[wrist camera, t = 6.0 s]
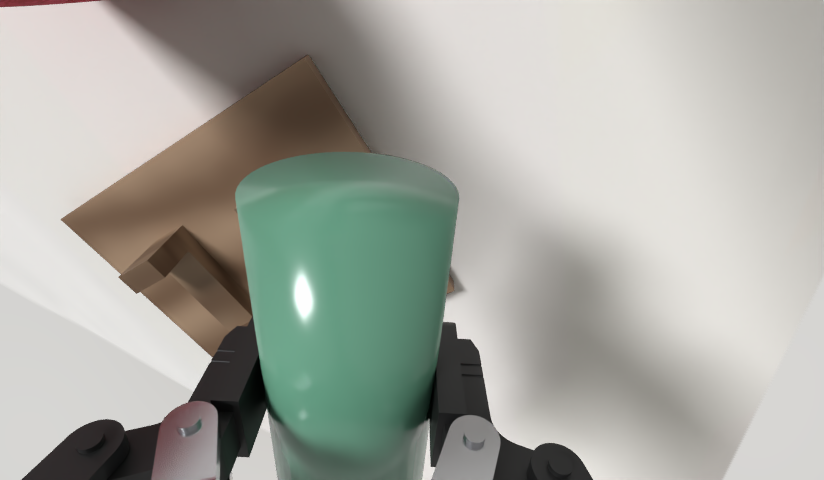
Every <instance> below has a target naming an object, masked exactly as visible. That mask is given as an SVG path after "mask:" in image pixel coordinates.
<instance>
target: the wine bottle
mask: <svg viewBox="0 0 824 480" xmlns="http://www.w3.org/2000/svg"><path fill="white" fill-rule="evenodd" d="M89 1H100V0H0V7H14V6H34V5H49V4H64V3H77V2H89Z"/></svg>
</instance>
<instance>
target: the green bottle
mask: <svg viewBox="0 0 824 480" xmlns="http://www.w3.org/2000/svg"><path fill="white" fill-rule="evenodd" d="M235 200H236V207H237V213H238V220H239V227H240V233H241V240H242V246H243V253H244V260H245V266H246V273H247V279H248V286H249V293H250V299H251V306H252V312H253V319H254V326H255V332H256V339H257V345H258V352H259V359H260V365H261V372H262V378H263V385H264V392H265V398H266V405H267V411H268V418H269V425H270V431H271V438H272V444H273V451H274V457H275V464H276V470H277V477H278V480H422V476H423V469H424V461H425V454H426V446H427V438H428V431H429V418H430V410H431V403H432V395H433V388H434V380H435V372H436V366H437V361H438V355H439V347H440V340H441V332H442V325H443V317H444V310H445V302H446V294H447V287H448V279H449V272H450V264H451V256H452V249H453V241H454V234H455V226H456V219H457V211H458V203H459V193H458V191H457V188H456V187H455V185H454V184H453V183H452V182H451V181H450V180H449V179H448V178H447V177H446V176H444V175H443V174H441V173H440V172H438V171H436V170H434V169H433V168H430V167H428V166H426V165H423V164H420V163H417V162H415V161H411V160H407V159H404V158H399V157H395V156H389V155H383V154H375V153H364V152H324V153H314V154H306V155H300V156H295V157H290V158H286V159H282V160H279V161H276V162H272V163H270V164H267V165H265V166H262V167H260V168H258V169H256V170H255V171H253V172H251V173H250V174H249V175H247V176H246V177H245V178H244V179H243V180H242V181H241V182H240V183H239V185H238V186H237V189H236V192H235Z"/></svg>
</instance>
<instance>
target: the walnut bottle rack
mask: <svg viewBox="0 0 824 480" xmlns="http://www.w3.org/2000/svg"><path fill="white" fill-rule="evenodd" d="M324 152H364V153H371V152H370V150H369V148H368V147H367V145H366V144H365V142H364V141H363V139H362V137H361V136H360V134H359V133H358V131H357V130H356V128H355V127H354V125H353V123H352V122H351V120H350V119H349V117H348V116H347V114H346V113H345V111H344V109H343V108H342V106H341V105H340V103H339V102H338V100H337V98H336V97H335V95H334V94H333V92H332V91H331V89H330V88H329V86H328V84H327V83H326V81H325V80H324V78H323V77H322V75H321V73H320V72H319V70H318V69H317V67H316V66H315V64H314V63H313V61H312V59H311V58H310V56H309V55H307V56H305V57H304V58H302V59H301V60H299V61H298V62H296V63H295V64H293V65H292V66H290V67H289V68H287V69H286V70H284V71H283V72H281V73H280V74H278V75H277V76H275V77H274V78H272V79H271V80H269V81H268V82H266V83H265V84H263V85H262V86H260V87H259V88H257V89H256V90H254V91H253V92H251V93H250V94H248V95H247V96H245V97H244V98H242V99H241V100H239V101H238V102H236V103H235V104H233V105H232V106H230V107H229V108H227V109H226V110H224V111H223V112H221V113H220V114H218V115H217V116H215V117H214V118H212V119H211V120H209V121H208V122H206V123H205V124H203V125H202V126H200V127H199V128H197V129H196V130H194V131H193V132H191V133H190V134H188V135H187V136H185V137H184V138H182V139H181V140H179V141H178V142H176V143H175V144H173V145H172V146H170V147H169V148H167V149H166V150H164V151H163V152H161V153H160V154H158V155H157V156H155V157H154V158H152V159H151V160H149V161H148V162H146V163H145V164H143V165H142V166H140V167H139V168H137V169H136V170H134V171H133V172H131V173H130V174H128V175H127V176H125V177H123V178H122V179H120V180H119V181H117V182H116V183H114V184H113V185H111V186H110V187H108V188H107V189H105V190H104V191H102V192H101V193H99V194H98V195H96V196H95V197H93V198H92V199H90V200H89V201H87V202H86V203H84V204H83V205H81V206H80V207H78V208H77V209H75V210H74V211H72V212H71V213H69V214H68V215H66V216H65V217H63V218H62V219H61V220H62V221H63V222H64V223H65V224H66V225H67V226H68V227H70V228H71V229H72V230H73V231H74V232H75V233H76V234H77V235H78V236H79V237H81V238H82V239H83V240H84V241H85V242H86V243H87V244H88V245H89V246H90V247H92V248H93V249H94V250H95V251H96V252H97V253H98V254H99V255H100V256H101V257H103V258H104V259H105V260H106V261H107V262H108V263H109V264H110V265H111V266H112V267H114V268H115V269H116V270H117V271H118V272H119V273H120V274H121V275H120V276H119V278H120V279H121V280H122V281H123V282H124V283H125V284H126V285H128V286H129V287H130V288H131V289H132V290H133V291H134V292H135V293H136V294H137V293H139V292H141V293H142V294H143V295H144V296H146V297H147V298H148V299H149V300H150V301H151V302H152V303H153V304H154V305H155V306H157V307H158V308H159V309H160V310H161V311H162V312H163V313H164V314H165V315H166V316H168V317H169V318H170V319H171V320H172V321H173V322H174V323H175V324H176V325H177V326H179V327H180V328H181V329H182V330H183V331H184V332H185V333H186V334H187V335H188V336H190V337H191V338H192V339H193V340H194V341H195V342H196V343H197V344H198V345H199V346H201V347H202V348H203V349H204V350H205V351H206V352H207V353H208V354H209V355H210V356H212V357H213V356H214V355H215V353H216V352H217V349H218V347H219V346H220V344H221V342H222V340H223V338H224V337H225V336H226V335H227V334H228V333H229V332H231V331H232V330H233V329H234V328H235V327H236V326H248V324H249V322H250V320H251V318H252V316H253V312H252V306H251V299H250V293H249V286H248V279H247V273H246V266H245V260H244V253H243V246H242V240H241V233H240V227H239V220H238V213H237V207H236V200H235V192H236V189H237V186H238V185H239V183H240V182H241V181H242V180H243V179H244V178H245V177H246V176H247V175H249V174H250V173H251V172H253V171H255V170H256V169H258V168H260V167H262V166H265V165H267V164H270V163H272V162H276V161H279V160H282V159H286V158H290V157H295V156H300V155H306V154H314V153H324ZM452 291H455V290H454V282H453V280H452V278H451V276H450V275H449V279H448V287H447V294H448V293H450V292H452Z"/></svg>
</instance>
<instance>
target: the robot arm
mask: <svg viewBox="0 0 824 480" xmlns="http://www.w3.org/2000/svg"><path fill="white" fill-rule="evenodd" d="M266 409H267V405H266V398H265V392H264V385H263V378H262V372H261V365H260V359H259V352H258V345H257V339H256V332H255V326H254V319H253V316H252V318H251V320H250V322H249V324H248V326H236V327H235V328H234V329H233V330H232V331H231V332H229V333H228V334H227V335H226V336H225V337H224V338H223V340H222V342H221V344H220V346H219V347H218V349H217V352H216V353H215V355H214V356H213V358H212V362H211V363H210V364H209V365H208V367H207V369H206V371H205V373H204V374H203V376H202V378H201V380H200V382H199V383H198V385H197V387H196V389H195V391H194V392H193V394H192V396H191V398H190V400H189V401H188V403H186V404H183V405H181V406H179V407H177V408H175V409H174V410H172V411H171V412H170V413H169V414H168V415H167V416H166V417H165V418H164V420H163V421H162V422H161V423H158V424H155V425H151V426H146V427H142V428H138V429H133V430H128V431H125V430H124V428H123V426H122V425H121V424H120V423H119V422H117V421H115V420H107V419H105V420H98V421H94V422H91V423H89V424H86V425H84V426H82V427H80V428H79V429H77V430H76V431H74V432H73V433H71V434H70V435H69V436H68V437H67V438H66V439H65V440H64V441H63V442H62V443H60V444H59V445H58V446H57V447H56V448H55V449H54V450H53V451H52V452H51V453H50V454H49V455H48V456H46V457H45V458H44V459H43V460H42V461H41V462H40V463H39V464H38V465H37V466H36V467H35V468H34V469H32V470H31V471H30V472H29V473H28V474H27V475H26V476H25V477H24V478H23V479H22V480H232V473H231V471H232V468H233V465H234V463H235V460H236V458H237V457H249V456H250V453H251V450H252V448H253V445H254V442H255V439H256V437H257V434H258V431H259V428H260V425H261V423H262V420H263V417H264V414H265V411H266ZM429 424H430V457H431V467H436V468H435V471H434V474H433V477H432V479H431V480H593V479H592V477H591V475H590V474H589V472H588V470H587V469H586V467H585V465H584V464H583V462H582V461H581V459H580V458H579V457H578V456H577V455H576V454H575V453H574V452H573V451H571V450H570V449H568V448H566V447H565V446H562V445H559V444H555V443H545V444H542V445H540V446H538V447H537V448H536V449H535V450H531V449H528V448H526V447H523V446H520V445H517V444H515V443H512V442H510V441H509V440H507V439H506V438H504V437H503V436H502V435H501V434H500V433H499V432H498V431H497V430H496V428H495V427H494V425H493V423H492V421H491V417H490V412H489V406H488V400H487V395H486V389H485V383H484V378H483V372H482V367H481V360H480V355H479V351H478V349H477V348H476V347H475V345H474V344H473V342H472V341H471V340H470V339H457V331H456V324H455V323H451V322H443V325H442V332H441V340H440V347H439V355H438V361H437V366H436V372H435V380H434V388H433V395H432V403H431V410H430V418H429Z"/></svg>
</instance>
